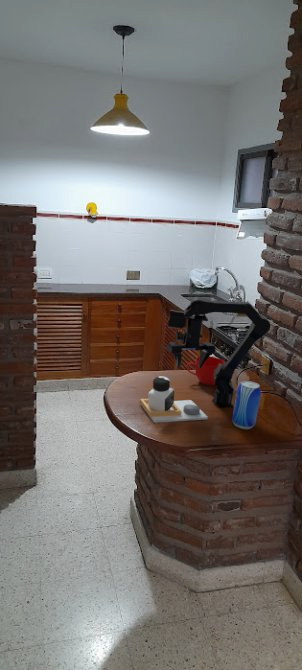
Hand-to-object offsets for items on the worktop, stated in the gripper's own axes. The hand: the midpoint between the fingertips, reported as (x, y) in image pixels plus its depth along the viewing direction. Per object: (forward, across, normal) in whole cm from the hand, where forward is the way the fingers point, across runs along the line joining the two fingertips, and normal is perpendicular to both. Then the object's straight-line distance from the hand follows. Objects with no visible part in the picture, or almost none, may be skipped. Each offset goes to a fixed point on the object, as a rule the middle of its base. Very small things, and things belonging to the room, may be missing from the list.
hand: (188, 368), depth 192 cm
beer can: (+13, -13, +24) cm, 30 cm away
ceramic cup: (+13, -16, -16) cm, 26 cm away
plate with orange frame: (+13, +9, +10) cm, 19 cm away
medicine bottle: (+12, +14, +9) cm, 20 cm away
